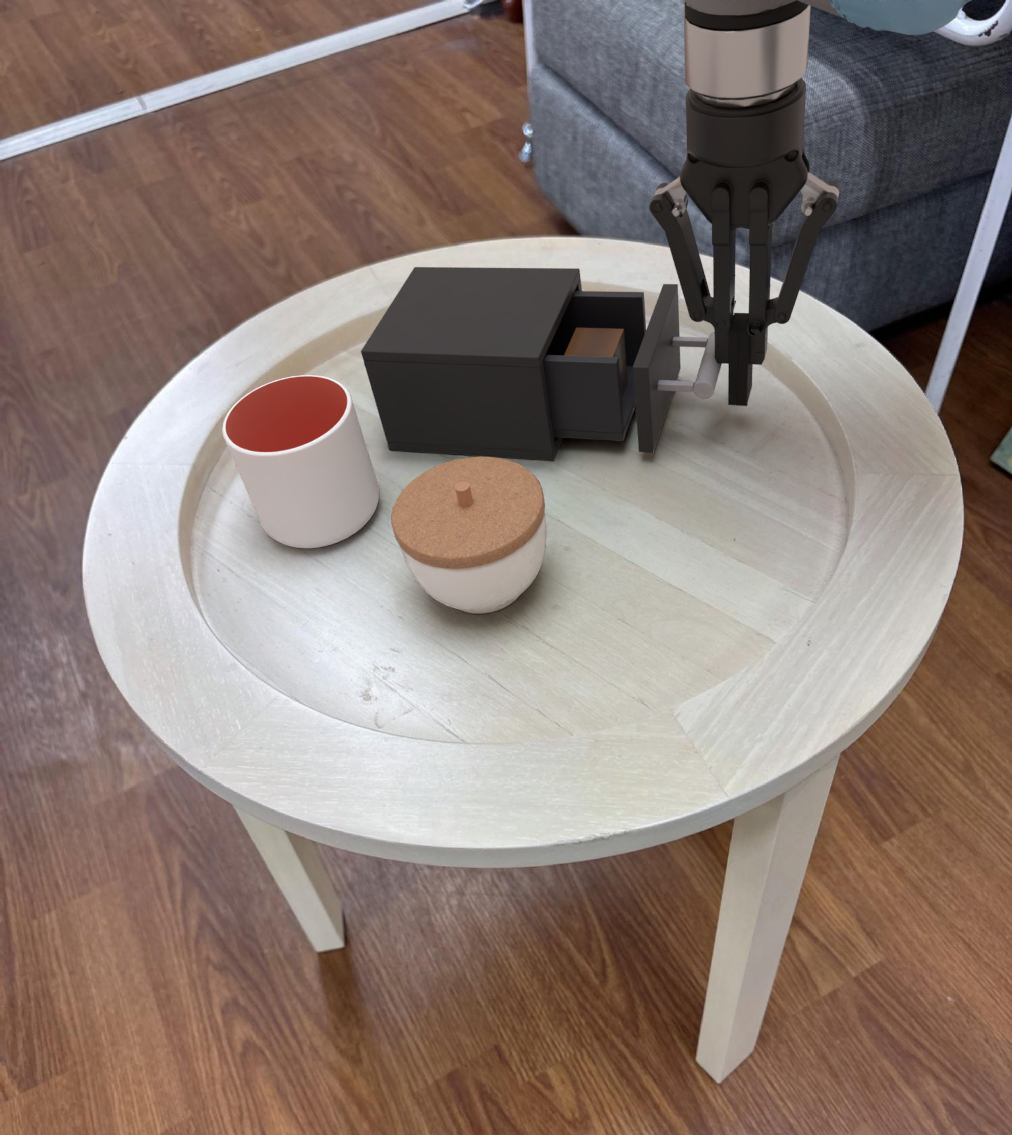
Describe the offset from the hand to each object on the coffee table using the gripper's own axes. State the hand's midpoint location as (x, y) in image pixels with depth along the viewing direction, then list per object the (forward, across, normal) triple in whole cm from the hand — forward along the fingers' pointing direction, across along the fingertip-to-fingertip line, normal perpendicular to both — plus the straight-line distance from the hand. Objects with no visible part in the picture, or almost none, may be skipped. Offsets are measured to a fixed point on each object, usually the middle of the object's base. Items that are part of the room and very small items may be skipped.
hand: (740, 395), depth 85 cm
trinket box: (+3, +15, +21) cm, 26 cm away
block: (+1, +12, 0) cm, 12 cm away
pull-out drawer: (+2, +11, 0) cm, 11 cm away
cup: (+3, +31, +15) cm, 35 cm away
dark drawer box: (+3, +22, 0) cm, 22 cm away
